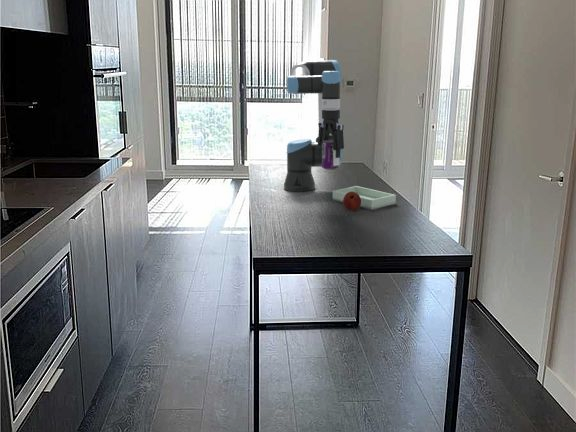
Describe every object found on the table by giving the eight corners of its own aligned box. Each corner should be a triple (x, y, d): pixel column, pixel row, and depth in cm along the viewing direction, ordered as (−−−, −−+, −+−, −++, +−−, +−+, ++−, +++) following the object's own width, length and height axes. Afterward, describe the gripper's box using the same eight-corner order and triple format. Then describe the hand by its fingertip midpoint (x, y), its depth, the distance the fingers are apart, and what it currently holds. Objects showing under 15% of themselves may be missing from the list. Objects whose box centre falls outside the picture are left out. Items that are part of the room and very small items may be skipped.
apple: (340, 211, 229) (340, 192, 226) (345, 207, 235) (345, 188, 233) (358, 213, 226) (358, 194, 224) (362, 208, 233) (363, 190, 231)
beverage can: (337, 170, 236) (337, 142, 232) (320, 170, 237) (320, 141, 234) (339, 167, 242) (339, 139, 239) (323, 166, 244) (323, 139, 241)
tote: (332, 199, 249) (332, 190, 248) (356, 194, 258) (356, 185, 257) (371, 209, 231) (371, 200, 230) (395, 203, 240) (395, 194, 239)
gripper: (309, 108, 238) (309, 162, 245) (339, 111, 223) (339, 168, 229) (322, 107, 243) (322, 160, 249) (353, 110, 227) (352, 166, 234)
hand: (330, 164), depth 239 cm, fingers closed on beverage can, 7 cm apart
